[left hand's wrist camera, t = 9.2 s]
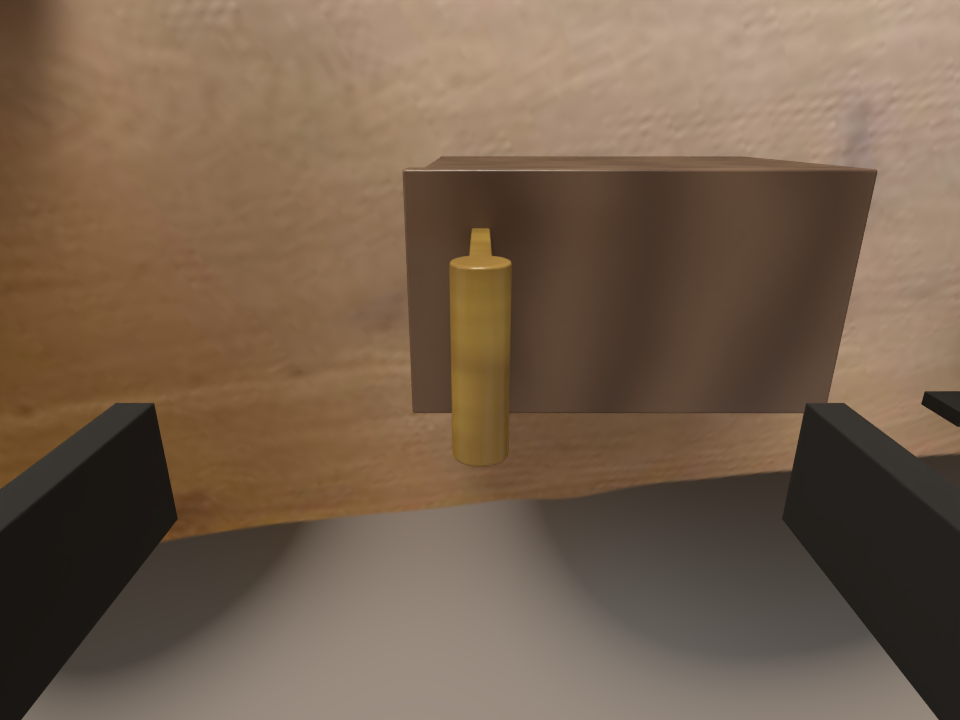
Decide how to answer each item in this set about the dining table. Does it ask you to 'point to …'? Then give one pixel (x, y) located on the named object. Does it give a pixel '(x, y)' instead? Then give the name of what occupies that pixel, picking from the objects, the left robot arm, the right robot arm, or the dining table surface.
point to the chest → (619, 162)
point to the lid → (625, 291)
